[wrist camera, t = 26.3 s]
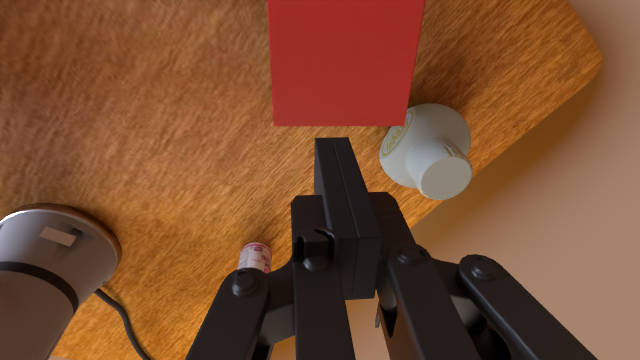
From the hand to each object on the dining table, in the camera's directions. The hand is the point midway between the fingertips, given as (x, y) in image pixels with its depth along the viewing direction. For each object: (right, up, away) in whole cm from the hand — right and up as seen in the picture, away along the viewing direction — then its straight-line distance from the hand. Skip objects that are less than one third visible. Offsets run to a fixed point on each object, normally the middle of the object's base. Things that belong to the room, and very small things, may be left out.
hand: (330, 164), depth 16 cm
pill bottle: (-10, -12, +38) cm, 41 cm away
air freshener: (+12, +5, +29) cm, 31 cm away
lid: (+2, +11, +13) cm, 17 cm away
